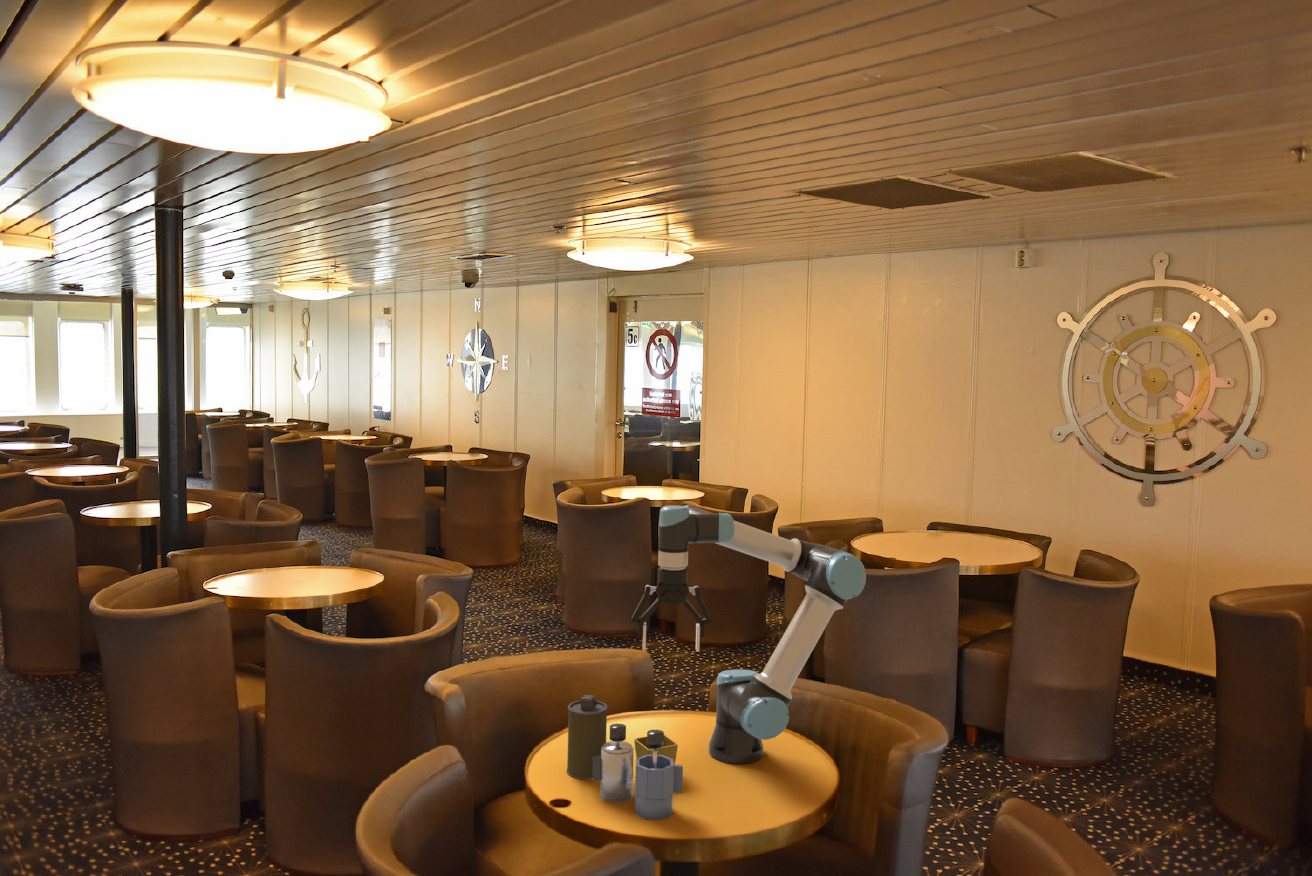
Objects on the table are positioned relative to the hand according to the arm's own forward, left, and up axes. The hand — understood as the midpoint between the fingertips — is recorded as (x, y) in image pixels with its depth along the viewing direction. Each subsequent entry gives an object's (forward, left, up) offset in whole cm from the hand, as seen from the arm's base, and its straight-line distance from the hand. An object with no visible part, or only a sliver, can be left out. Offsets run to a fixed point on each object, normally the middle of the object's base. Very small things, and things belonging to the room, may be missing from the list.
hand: (670, 649), depth 239 cm
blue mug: (+3, +16, -35) cm, 38 cm away
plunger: (+4, +16, -29) cm, 34 cm away
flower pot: (+3, -5, -35) cm, 35 cm away
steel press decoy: (+13, +8, -35) cm, 38 cm away
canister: (+21, -7, -35) cm, 41 cm away
